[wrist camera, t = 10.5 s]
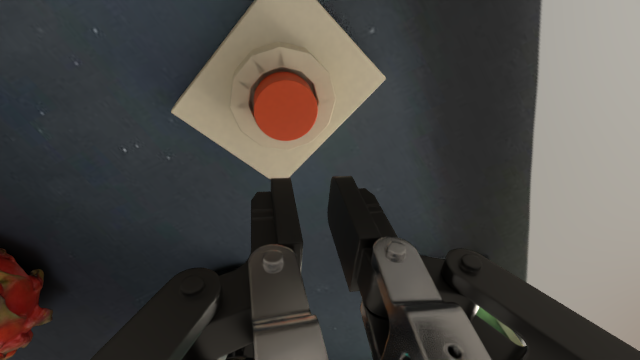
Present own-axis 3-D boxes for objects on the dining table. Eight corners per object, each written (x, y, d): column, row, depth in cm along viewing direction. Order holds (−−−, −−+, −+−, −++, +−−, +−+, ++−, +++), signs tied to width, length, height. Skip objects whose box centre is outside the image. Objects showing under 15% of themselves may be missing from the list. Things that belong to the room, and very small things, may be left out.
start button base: (281, -36, 21) (287, -37, 18) (377, 71, 26) (396, 85, 22) (176, 101, 24) (164, 122, 21) (278, 173, 29) (281, 199, 26)
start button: (280, 57, 20) (283, 65, 19) (324, 98, 22) (330, 108, 21) (241, 104, 22) (240, 115, 20) (286, 139, 23) (289, 152, 22)
